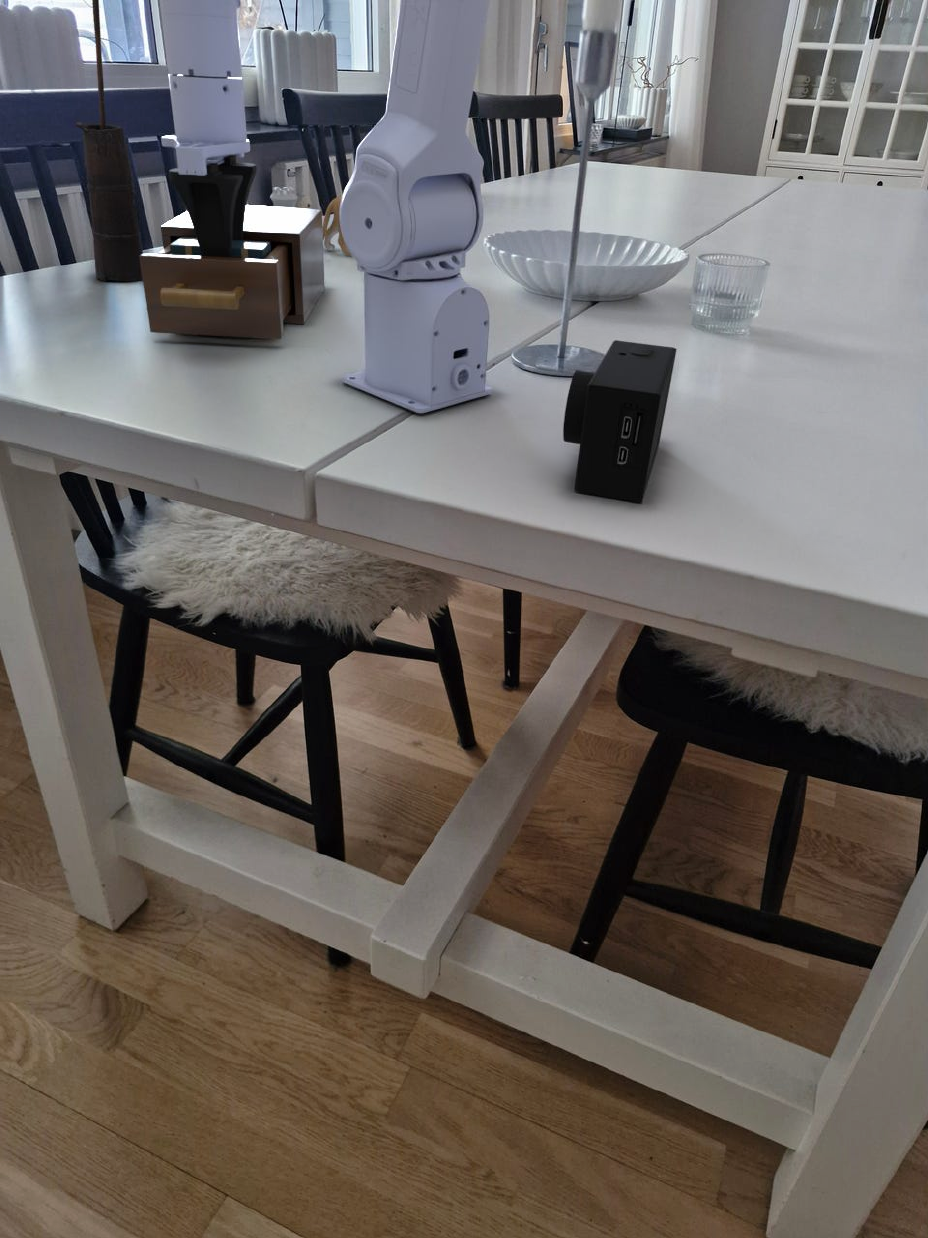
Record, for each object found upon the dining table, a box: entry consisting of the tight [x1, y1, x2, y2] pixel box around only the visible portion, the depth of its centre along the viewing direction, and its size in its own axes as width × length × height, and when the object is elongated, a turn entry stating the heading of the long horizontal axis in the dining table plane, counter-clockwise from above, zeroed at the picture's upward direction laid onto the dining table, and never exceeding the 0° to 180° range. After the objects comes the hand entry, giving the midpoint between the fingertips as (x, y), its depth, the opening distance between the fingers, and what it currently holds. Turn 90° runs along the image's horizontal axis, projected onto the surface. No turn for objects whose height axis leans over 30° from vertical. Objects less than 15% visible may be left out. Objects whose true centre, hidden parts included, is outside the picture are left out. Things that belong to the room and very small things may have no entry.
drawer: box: [139, 237, 295, 340], centre depth 77 cm, size 18×11×6 cm, turn 0°
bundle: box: [170, 237, 271, 259], centre depth 77 cm, size 8×4×3 cm, turn 90°
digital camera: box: [562, 339, 677, 504], centre depth 56 cm, size 10×5×7 cm, turn 163°
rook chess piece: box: [269, 186, 298, 208], centre depth 105 cm, size 4×4×8 cm
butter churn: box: [75, 0, 144, 282], centre depth 87 cm, size 9×10×28 cm
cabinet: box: [160, 204, 326, 325], centre depth 87 cm, size 15×13×8 cm
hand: (223, 257), depth 77 cm, fingers closed on bundle, 3 cm apart
